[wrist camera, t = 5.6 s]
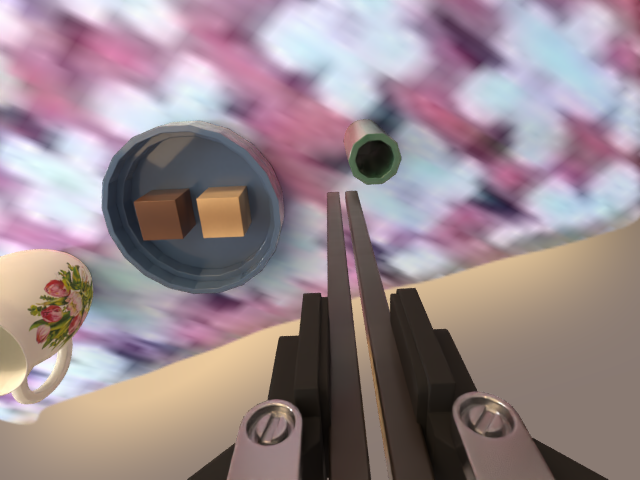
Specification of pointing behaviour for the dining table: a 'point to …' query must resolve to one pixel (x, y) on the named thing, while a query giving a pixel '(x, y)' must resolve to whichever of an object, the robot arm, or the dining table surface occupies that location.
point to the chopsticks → (389, 381)
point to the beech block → (224, 211)
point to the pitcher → (39, 317)
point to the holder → (371, 152)
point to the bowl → (198, 175)
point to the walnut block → (165, 214)
